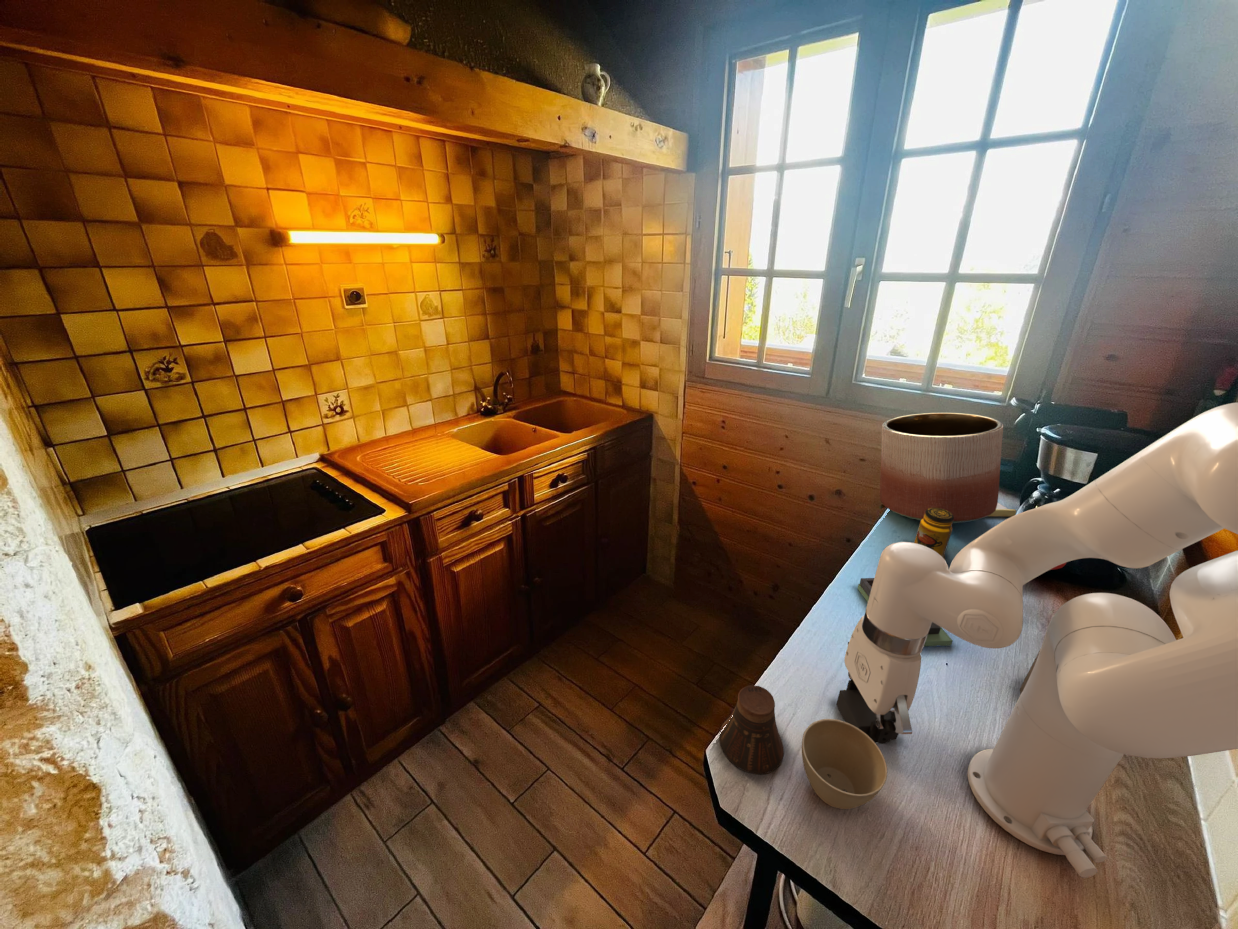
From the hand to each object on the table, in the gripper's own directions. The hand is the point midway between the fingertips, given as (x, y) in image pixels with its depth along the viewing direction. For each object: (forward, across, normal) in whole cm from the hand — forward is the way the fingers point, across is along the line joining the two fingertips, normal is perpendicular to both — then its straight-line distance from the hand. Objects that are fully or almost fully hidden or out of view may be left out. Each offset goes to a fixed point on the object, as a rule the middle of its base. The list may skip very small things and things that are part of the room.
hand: (865, 718), depth 73 cm
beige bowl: (+1, +10, -9) cm, 13 cm away
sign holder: (0, -56, +57) cm, 80 cm away
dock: (+1, -22, +18) cm, 28 cm away
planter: (-1, -58, +47) cm, 75 cm away
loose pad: (+1, 0, 0) cm, 1 cm away
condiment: (+1, -40, +34) cm, 53 cm away
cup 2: (-9, +4, -17) cm, 20 cm away
